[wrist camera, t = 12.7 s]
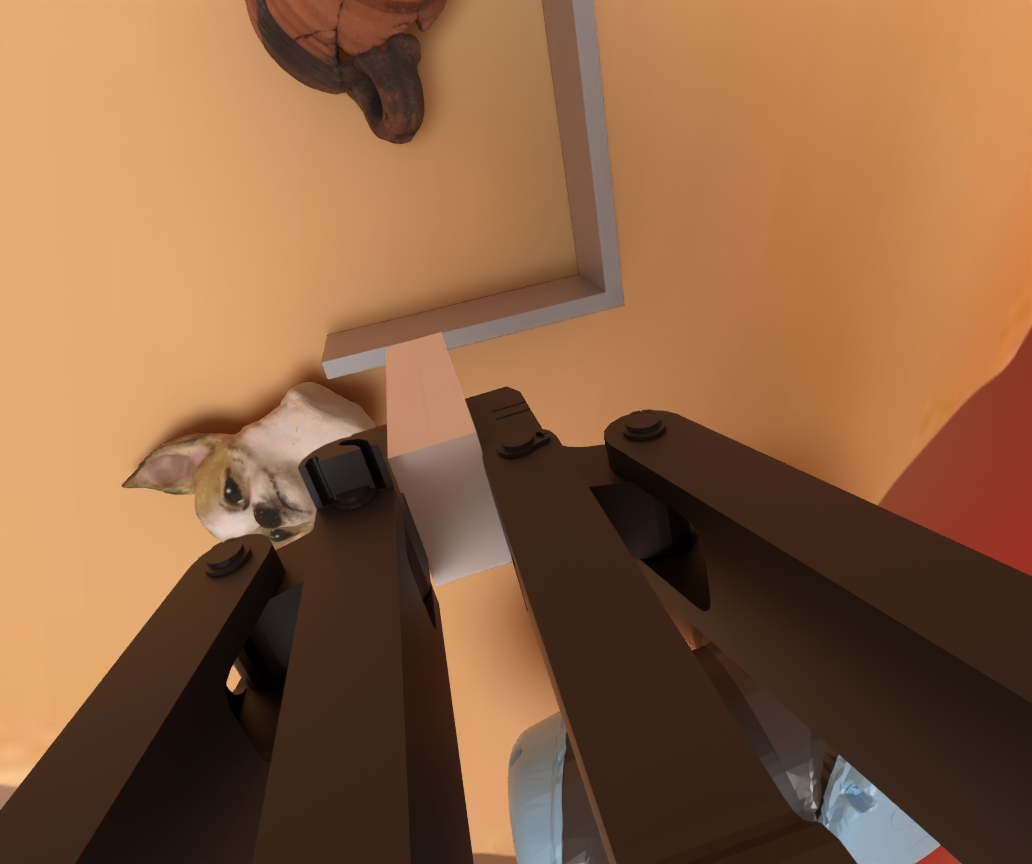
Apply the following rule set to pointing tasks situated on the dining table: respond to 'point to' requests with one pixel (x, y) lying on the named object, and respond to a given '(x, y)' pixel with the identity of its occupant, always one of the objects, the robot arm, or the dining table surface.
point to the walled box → (590, 217)
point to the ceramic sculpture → (255, 466)
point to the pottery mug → (353, 53)
